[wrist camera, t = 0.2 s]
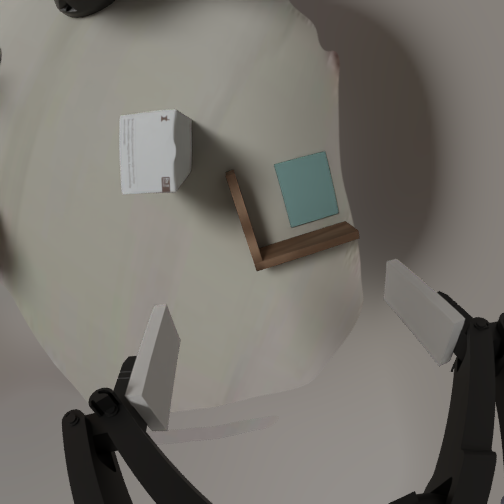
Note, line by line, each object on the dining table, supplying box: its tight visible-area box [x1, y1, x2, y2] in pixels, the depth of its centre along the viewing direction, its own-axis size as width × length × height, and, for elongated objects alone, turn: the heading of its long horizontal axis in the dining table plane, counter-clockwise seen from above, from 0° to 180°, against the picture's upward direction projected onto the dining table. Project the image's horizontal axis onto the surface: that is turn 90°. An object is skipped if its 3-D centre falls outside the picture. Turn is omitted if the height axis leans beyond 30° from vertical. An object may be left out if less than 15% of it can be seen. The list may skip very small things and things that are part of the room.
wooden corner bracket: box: [226, 170, 359, 271], centre depth 39 cm, size 14×16×5 cm
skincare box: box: [119, 109, 192, 194], centre depth 30 cm, size 8×6×15 cm
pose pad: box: [274, 152, 339, 227], centre depth 41 cm, size 10×8×1 cm
